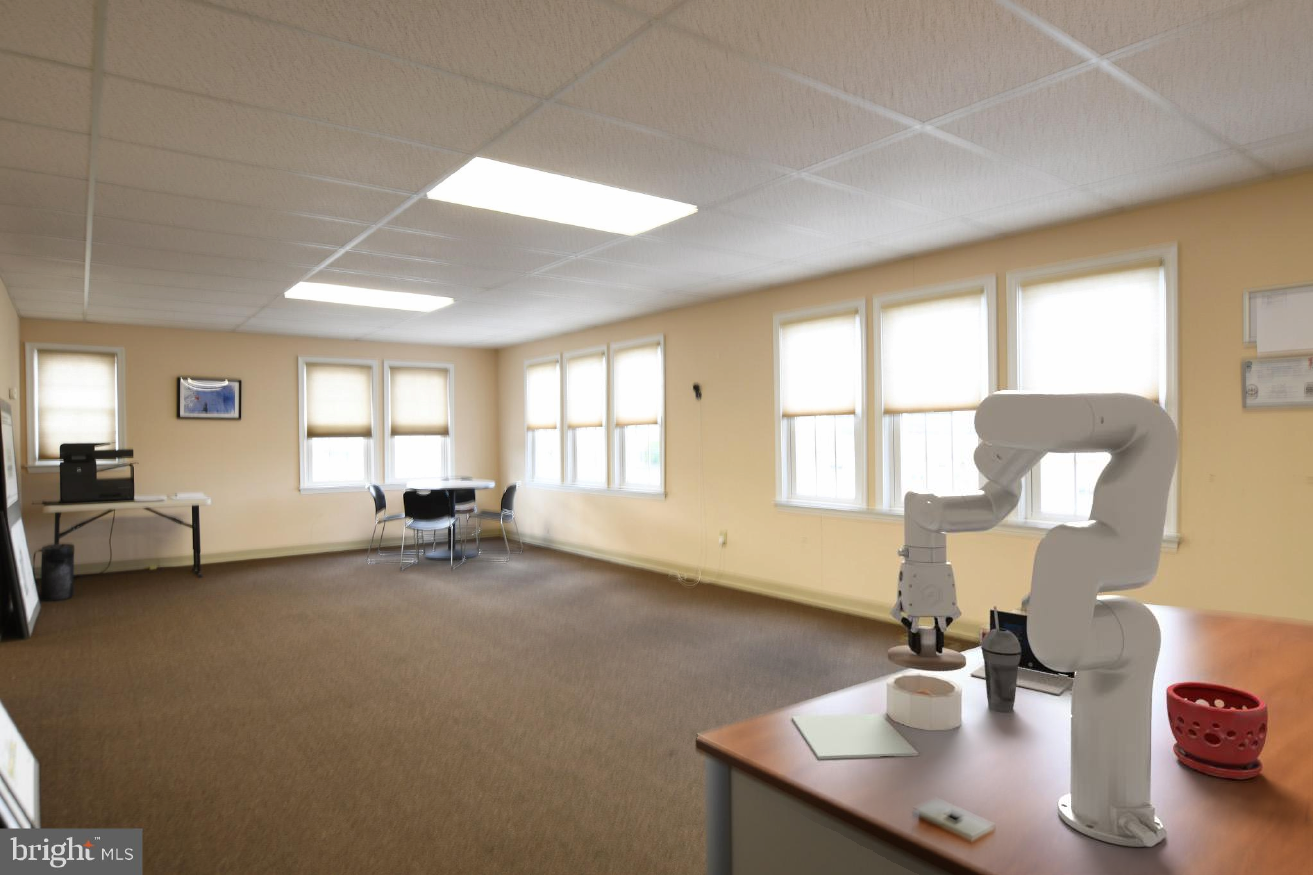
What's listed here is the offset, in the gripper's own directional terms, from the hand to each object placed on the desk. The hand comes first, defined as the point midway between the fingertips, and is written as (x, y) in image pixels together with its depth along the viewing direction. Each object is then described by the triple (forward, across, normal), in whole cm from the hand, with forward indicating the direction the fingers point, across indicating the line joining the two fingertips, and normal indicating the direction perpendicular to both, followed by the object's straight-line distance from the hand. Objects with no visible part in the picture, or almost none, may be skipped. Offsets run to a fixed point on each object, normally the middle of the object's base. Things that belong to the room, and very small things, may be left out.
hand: (926, 650), depth 140 cm
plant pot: (+14, +38, -23) cm, 46 cm away
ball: (+10, 0, +1) cm, 10 cm away
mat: (+13, -17, -7) cm, 23 cm away
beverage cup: (+13, +17, +4) cm, 22 cm away
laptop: (+13, +31, +20) cm, 39 cm away
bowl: (+13, 0, +1) cm, 13 cm away
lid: (+2, 0, 0) cm, 2 cm away
